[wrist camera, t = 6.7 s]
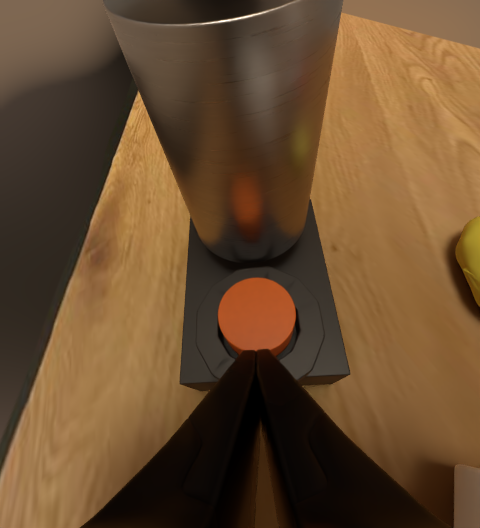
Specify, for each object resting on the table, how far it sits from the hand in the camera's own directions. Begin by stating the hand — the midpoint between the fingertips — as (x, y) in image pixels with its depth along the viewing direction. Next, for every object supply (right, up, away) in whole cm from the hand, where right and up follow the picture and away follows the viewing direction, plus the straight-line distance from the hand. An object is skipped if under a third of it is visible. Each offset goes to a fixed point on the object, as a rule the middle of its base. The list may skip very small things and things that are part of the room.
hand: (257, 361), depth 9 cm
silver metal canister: (0, +6, +9) cm, 11 cm away
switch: (0, 0, +6) cm, 5 cm away
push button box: (+1, 0, +12) cm, 13 cm away
